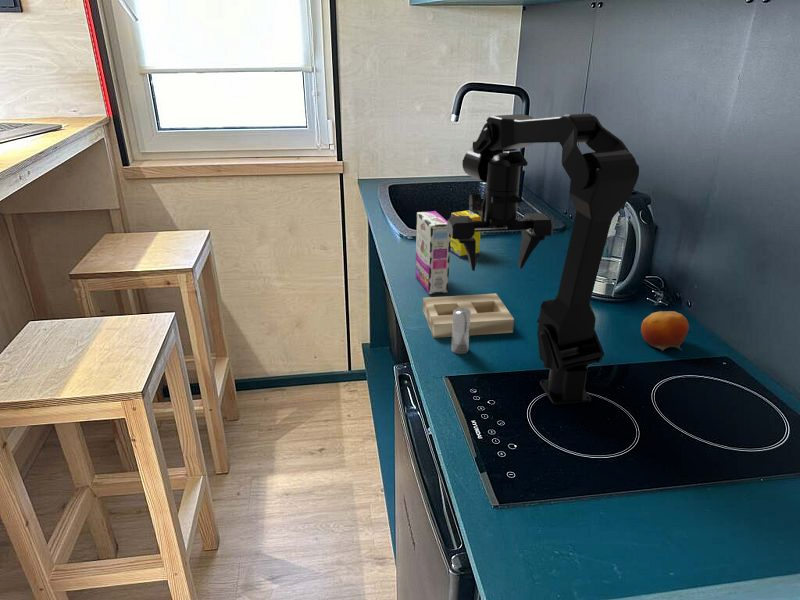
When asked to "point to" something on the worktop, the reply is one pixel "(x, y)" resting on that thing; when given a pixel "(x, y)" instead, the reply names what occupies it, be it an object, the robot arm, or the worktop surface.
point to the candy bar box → (432, 252)
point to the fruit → (665, 329)
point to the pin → (460, 330)
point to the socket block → (483, 320)
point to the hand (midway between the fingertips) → (496, 269)
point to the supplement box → (459, 247)
